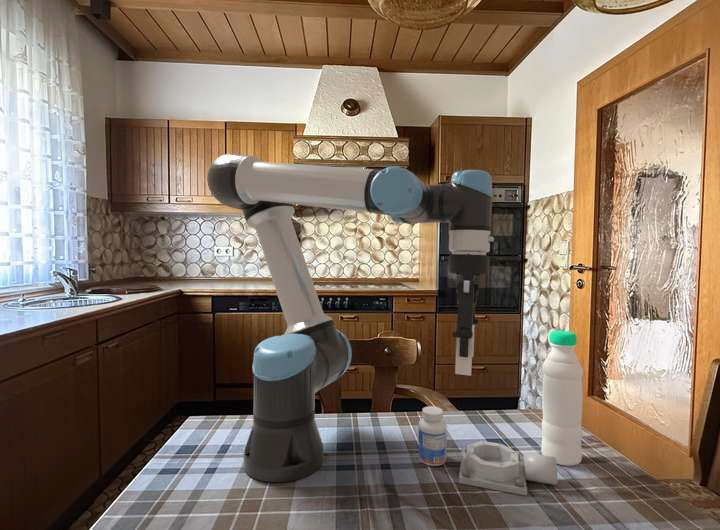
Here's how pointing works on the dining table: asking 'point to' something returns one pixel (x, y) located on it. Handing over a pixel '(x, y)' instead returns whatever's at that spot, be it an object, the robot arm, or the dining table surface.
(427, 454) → the pill bottle
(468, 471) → the fitting
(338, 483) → the dining table surface
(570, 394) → the water bottle
